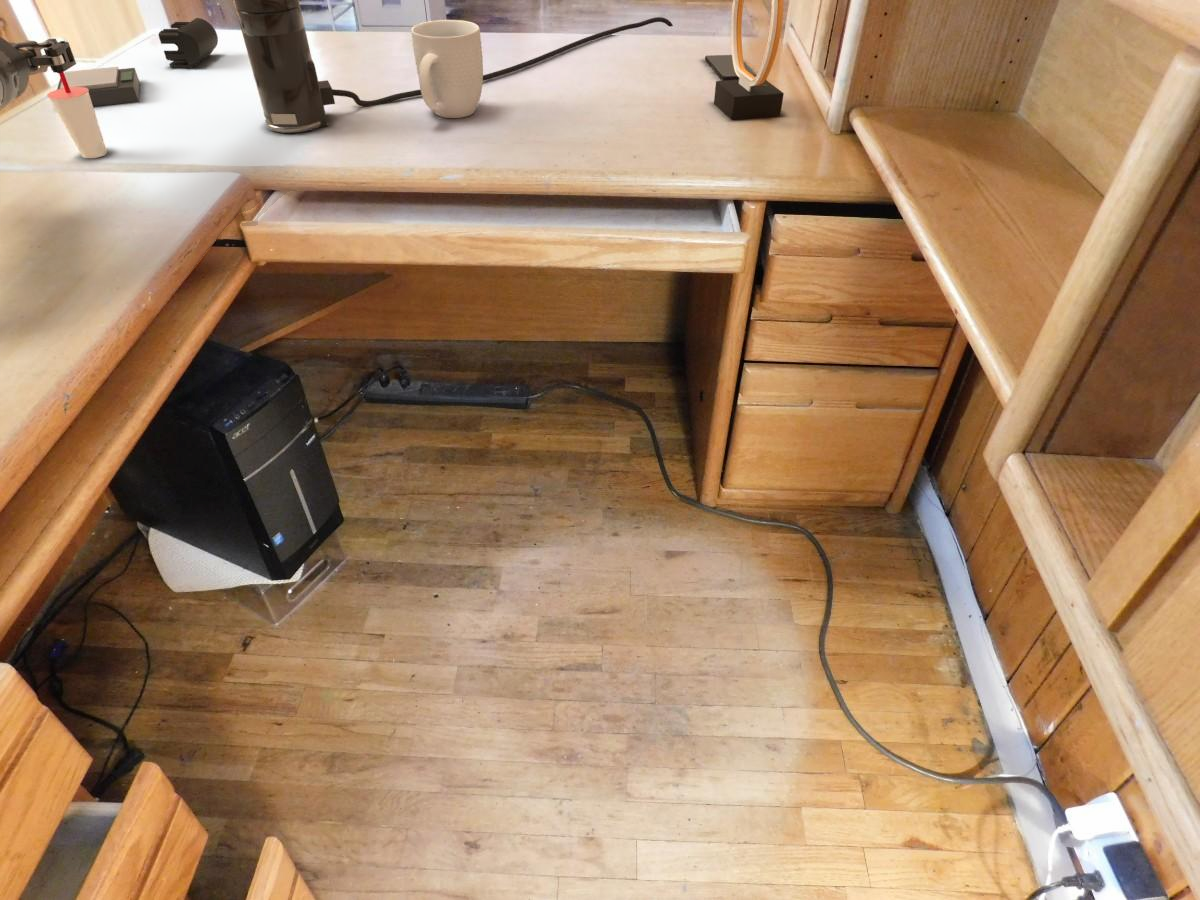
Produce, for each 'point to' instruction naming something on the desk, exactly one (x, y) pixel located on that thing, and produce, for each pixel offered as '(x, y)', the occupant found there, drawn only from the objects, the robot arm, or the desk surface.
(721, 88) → the lamp
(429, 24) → the mug
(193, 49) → the end cap
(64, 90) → the cup
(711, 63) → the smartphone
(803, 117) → the desk surface
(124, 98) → the scale
